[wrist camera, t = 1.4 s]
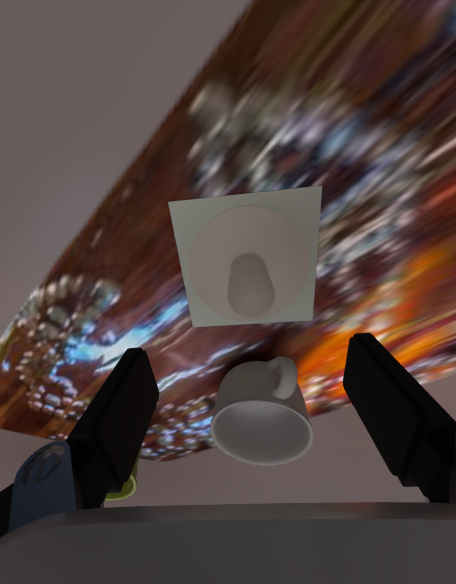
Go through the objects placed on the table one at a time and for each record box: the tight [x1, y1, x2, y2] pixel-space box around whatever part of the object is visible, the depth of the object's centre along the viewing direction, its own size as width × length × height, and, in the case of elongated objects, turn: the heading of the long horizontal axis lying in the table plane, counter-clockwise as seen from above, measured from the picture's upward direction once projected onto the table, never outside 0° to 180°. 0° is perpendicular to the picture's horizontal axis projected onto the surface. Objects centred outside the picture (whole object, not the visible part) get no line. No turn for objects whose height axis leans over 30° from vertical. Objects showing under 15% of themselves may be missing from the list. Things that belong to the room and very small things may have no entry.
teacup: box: [210, 356, 314, 466], centre depth 26 cm, size 14×11×8 cm
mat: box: [168, 186, 322, 327], centre depth 23 cm, size 14×14×1 cm
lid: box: [189, 206, 309, 321], centre depth 20 cm, size 12×12×7 cm
